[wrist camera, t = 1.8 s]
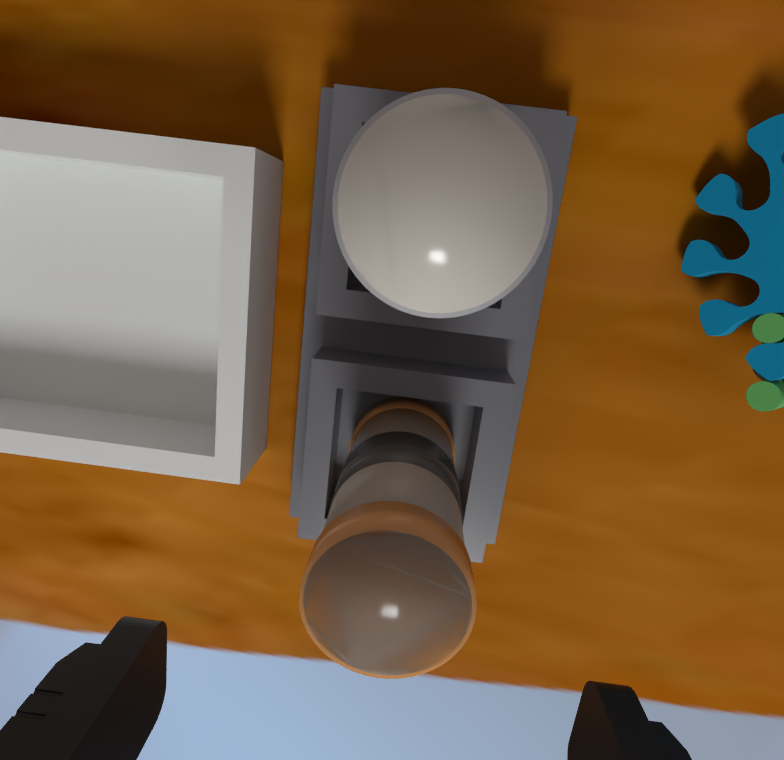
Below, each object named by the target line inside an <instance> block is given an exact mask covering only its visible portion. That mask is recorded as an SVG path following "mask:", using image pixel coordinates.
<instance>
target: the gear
mask: <svg viewBox="0 0 784 760" xmlns="http://www.w3.org/2000/svg"><path fill="white" fill-rule="evenodd" d="M747 141H748V144H749V146H750V147H751V148H752V149H753V150H754V151H755V152H756V153H757V154H758V155H760V156H761V157H762V158H763V159H764V160H765V162H766V164H767V166H768V169H769V173H770V196H769V198H768V200H767V201H766V203H765V204H764V205H763V206H761V207H760V208H758V209H755V210H751V211H746V210H744V209H743V206H742V188H741V186H740V185H739V183H738V182H736V181H735V180H734V179H732V178H731V177H729V176H728V175H725V174H719V175H717V176H716V177H714V178H713V179H712V180H711V181H710V182H709V183H708V184H707V185H706V186H705V187H704V188H703V189H702V191H701V192H700V193H699V195H698V196H697V197H696V199H695V201H696V204H697V205H698V206H699V207H700V208H701V209H702V210H704V211H706V212H708V213H710V214H713V215H721V216H726V217H729V218H732V219H733V220H735V221H736V222H737V223H738V224H739V225H740V226H741V227H742V229H743V230H744V231H745V233H746V234H747V236H748V237H749V240H750V245H749V248H748V250H747V252H746V253H745V254H744V255H743V256H741V257H740V258H738V259H734V260H728V259H727V258H726V257H725V255H724V254H723V252H722V251H721V250H720V248H719V247H718V246H716V245H714V244H712V243H710V242H707V241H704V240H694V241H691V242H690V244H689V245H688V247H687V249H686V251H685V254H684V258H683V262H682V269H681V271H682V272H683V273H685V274H687V275H690V276H694V277H699V278H704V277H708V276H711V275H715V274H721V273H734V274H740V275H744V276H746V277H749V278H751V279H753V280H755V281H756V282H757V283H758V285H759V288H760V293H759V296H758V298H757V300H756V301H755V302H754V303H752V304H750V305H748V306H745V307H740V306H738V305H735V304H733V303H731V302H727V301H723V300H716V299H715V300H709V301H706V302H704V303H703V304H702V305H700V308H699V314H700V320H701V323H702V326H703V328H704V330H705V333H706V335H711V336H725V335H728V334H730V333H732V332H733V331H735V330H736V329H737V328H738V327H739V326H741V325H742V324H744V323H746V322H747V321H750V320H752V319H754V318H757V317H758V318H757V319H756V320H755V321H754V323H753V326H752V332H753V335H754V336H755V338H756V339H757V340H759V341H761V342H763V343H762V344H761V345H757V346H756V347H754V348H752V349H751V350H750V351H749V353H748V354H747V356H746V360H747V361H748V363H749V364H750V366H751V367H752V369H753V371H754V373H755V374H756V375H757V377H758V378H760V379H761V380H763V381H761V382H757V383H754V384H753V385H751V386H750V387H749V389H748V391H747V394H746V399H747V402H748V403H749V405H750V406H751V407H752V408H754V409H756V410H758V411H771V410H774V409H778V408H781V407H783V406H784V114H780V115H776V116H774V117H771V118H769V119H767V120H765V121H763V122H761V123H760V124H758V125H756V126H755V127H753V128H752V129H750V130H749V131H748V134H747ZM780 314H782V315H780Z"/></svg>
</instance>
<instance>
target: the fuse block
mask: <svg viewBox="0 0 784 760" xmlns="http://www.w3.org/2000/svg"><path fill="white" fill-rule="evenodd" d="M409 94H411V93H409V92H401V91H392V90H384V89H375V88H367V87H358V86H349V85H341V84H334V88H329V87H321V100H320V114H319V127H318V140H317V153H316V167H315V180H314V193H313V207H312V220H311V233H310V246H309V260H308V273H307V286H306V300H305V313H304V326H303V340H302V353H301V366H300V379H299V393H298V406H297V419H296V433H295V446H294V459H293V472H292V486H291V499H290V512H289V516H292V517H299V525H298V537H297V538H304V539H311V540H317V538H318V537H319V535H320V534H321V532H322V531H323V529H324V526H325V523H326V521H327V518H328V514H329V508H330V504H331V501H332V498H333V495H334V492H335V489H336V486H337V483H338V480H339V477H340V474H341V471H342V469H343V466H344V463H345V461H346V459H347V458H348V455H349V446H350V442H351V439H352V436H353V433H354V430H355V427H356V425H357V423H358V421H359V419H360V418H361V416H362V415H363V414H364V413H365V412H366V411H367V410H368V409H369V408H370V407H371V406H373V405H375V404H376V403H378V402H380V401H382V400H385V399H388V398H393V397H409V398H416V399H420V400H423V401H425V402H427V403H429V404H430V405H432V406H433V407H435V408H436V409H437V410H438V411H439V412H440V413H441V414H442V415H443V416H444V417H445V419H446V420H447V422H448V424H449V426H450V428H451V431H452V434H453V439H454V446H455V465H454V466H455V471H456V473H457V479H458V485H459V492H460V500H461V507H462V514H463V535H464V543H465V547H466V549H467V551H468V554H469V557H470V561H471V562H479V563H482V562H483V556H484V551H485V546H486V543H489V544H495V540H496V535H497V530H498V525H499V520H500V514H501V509H502V504H503V499H504V494H505V489H506V483H507V478H508V473H509V468H510V463H511V458H512V452H513V447H514V442H515V437H516V432H517V426H518V421H519V416H520V411H521V406H522V401H523V395H524V390H525V385H526V380H527V375H528V370H529V364H530V359H531V354H532V349H533V344H534V339H535V333H536V328H537V323H538V318H539V313H540V308H541V302H542V297H543V292H544V287H545V282H546V277H547V271H548V266H549V261H550V256H551V251H552V245H553V240H554V235H555V230H556V225H557V220H558V214H559V209H560V204H561V199H562V194H563V189H564V183H565V178H566V173H567V168H568V163H569V158H570V152H571V147H572V142H573V137H574V132H575V127H576V121H577V117H575V116H567V111H562V110H554V109H545V108H537V107H528V106H520V105H511V104H503V103H501V104H502V105H504V106H505V107H506V108H508V109H509V110H510V111H512V112H513V113H514V114H515V115H516V116H517V117H518V118H519V119H520V120H521V121H523V122H524V124H525V125H526V126H527V127H528V129H529V130H530V131H531V133H532V134H533V135H534V137H535V139H536V140H537V142H538V144H539V146H540V147H541V149H542V152H543V154H544V157H545V159H546V162H547V165H548V169H549V173H550V176H551V183H552V191H553V209H552V217H551V224H550V227H549V231H548V235H547V239H546V241H545V244H544V246H543V249H542V251H541V253H540V255H539V257H538V259H537V260H536V262H535V264H534V266H533V267H532V268H531V270H530V271H529V273H528V274H527V275H526V277H525V278H524V279H523V280H522V281H521V282H520V283H519V284H518V285H517V286H516V287H515V288H514V289H513V290H512V291H511V292H510V293H508V294H507V295H506V296H505V297H503V298H502V299H500V300H499V301H497V302H496V303H494V304H492V305H490V306H488V307H486V308H484V309H482V310H480V311H477V312H474V313H471V314H468V315H463V316H458V317H452V318H426V317H421V316H416V315H412V314H409V313H406V312H403V311H400V310H398V309H396V308H394V307H392V306H390V305H388V304H386V303H385V302H383V301H382V300H380V299H379V298H377V297H376V296H375V295H373V294H372V293H371V292H370V291H369V290H368V289H366V288H365V286H364V285H363V284H362V283H361V282H360V281H359V280H358V279H357V277H356V276H355V275H354V273H353V272H352V270H351V269H350V267H349V266H348V264H347V262H346V260H345V258H344V256H343V254H342V252H341V249H340V246H339V243H338V241H337V237H336V233H335V228H334V222H333V212H332V206H333V191H334V184H335V179H336V175H337V172H338V168H339V165H340V163H341V160H342V158H343V156H344V153H345V151H346V149H347V148H348V146H349V144H350V143H351V141H352V139H353V138H354V136H355V135H356V134H357V132H358V131H359V130H360V129H361V127H362V126H363V125H364V124H365V123H366V122H367V121H368V120H369V119H370V118H371V117H372V116H373V115H374V114H376V113H377V112H378V111H380V110H381V109H382V108H383V107H385V106H386V105H388V104H390V103H392V102H393V101H395V100H397V99H399V98H401V97H404V96H406V95H409Z"/></svg>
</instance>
